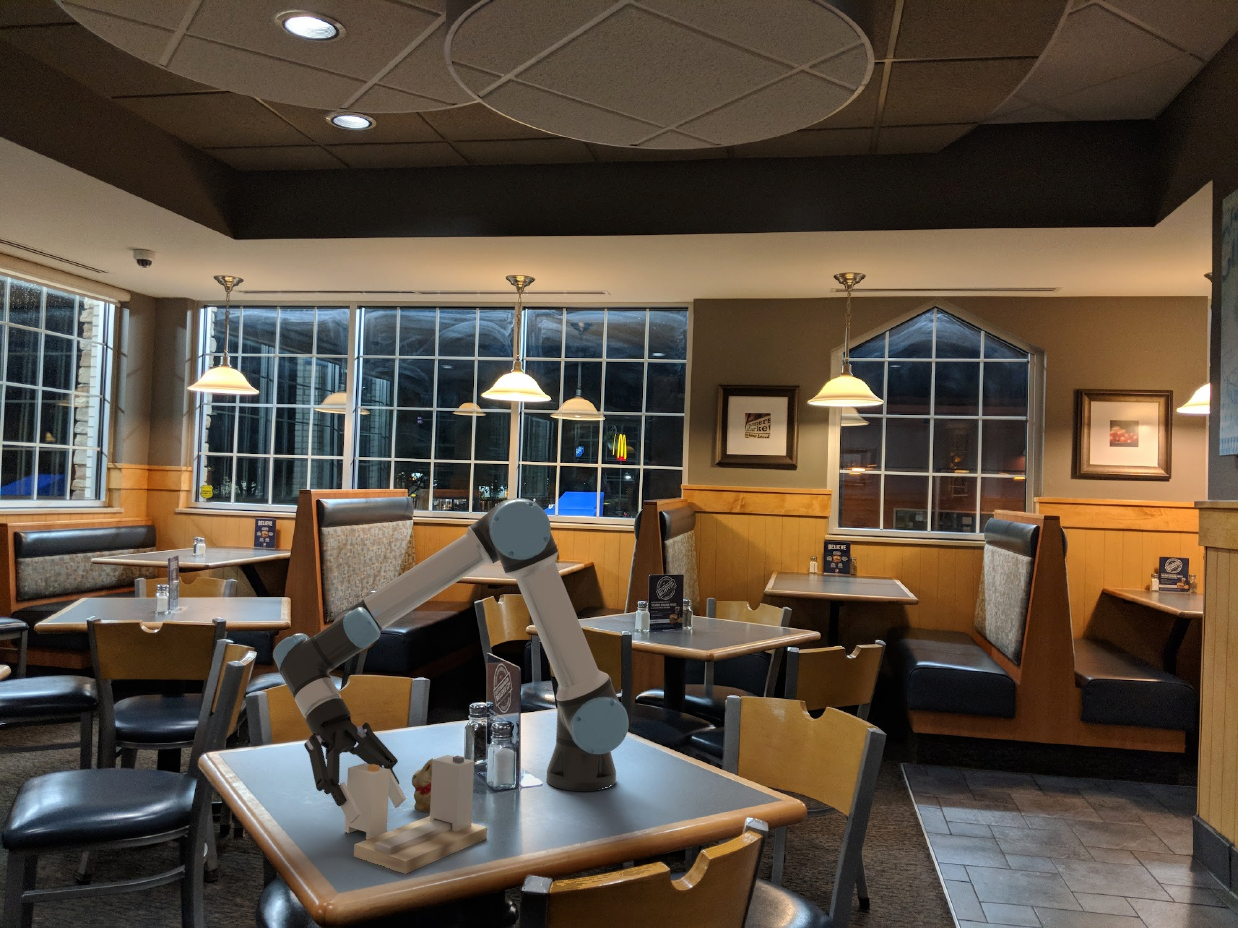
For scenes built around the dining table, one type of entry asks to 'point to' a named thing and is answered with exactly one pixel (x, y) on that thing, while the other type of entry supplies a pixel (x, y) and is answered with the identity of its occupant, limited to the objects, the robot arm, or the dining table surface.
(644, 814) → the dining table surface
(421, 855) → the rail board
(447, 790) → the fitted module
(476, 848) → the dining table surface
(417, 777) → the chocolate bunny
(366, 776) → the block
